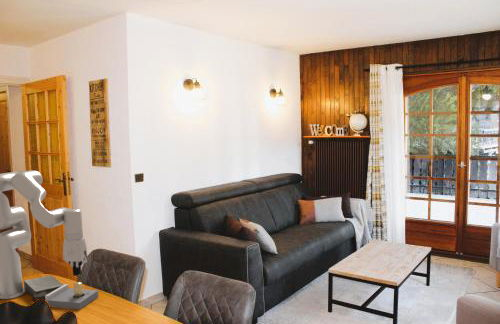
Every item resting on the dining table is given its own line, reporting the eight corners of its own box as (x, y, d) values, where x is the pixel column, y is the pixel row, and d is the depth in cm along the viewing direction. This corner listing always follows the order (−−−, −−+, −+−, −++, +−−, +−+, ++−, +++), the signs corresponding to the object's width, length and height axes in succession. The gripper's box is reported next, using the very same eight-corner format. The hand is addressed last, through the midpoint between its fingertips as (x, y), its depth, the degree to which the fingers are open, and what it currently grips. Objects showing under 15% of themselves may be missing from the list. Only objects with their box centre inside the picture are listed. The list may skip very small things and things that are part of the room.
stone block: (35, 301, 200) (35, 291, 200) (23, 290, 215) (23, 280, 214) (65, 293, 210) (65, 283, 209) (52, 283, 224) (51, 273, 224)
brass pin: (73, 303, 198) (72, 284, 197) (78, 299, 201) (76, 281, 200) (80, 303, 197) (78, 284, 196) (85, 300, 200) (83, 282, 199)
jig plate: (46, 306, 195) (45, 295, 195) (66, 293, 209) (65, 284, 208) (80, 309, 191) (79, 298, 190) (98, 296, 204) (97, 286, 204)
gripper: (54, 237, 194) (57, 276, 196) (83, 239, 190) (86, 278, 192) (65, 233, 201) (68, 271, 203) (93, 234, 198) (96, 272, 199)
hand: (77, 274), depth 198 cm, fingers closed
